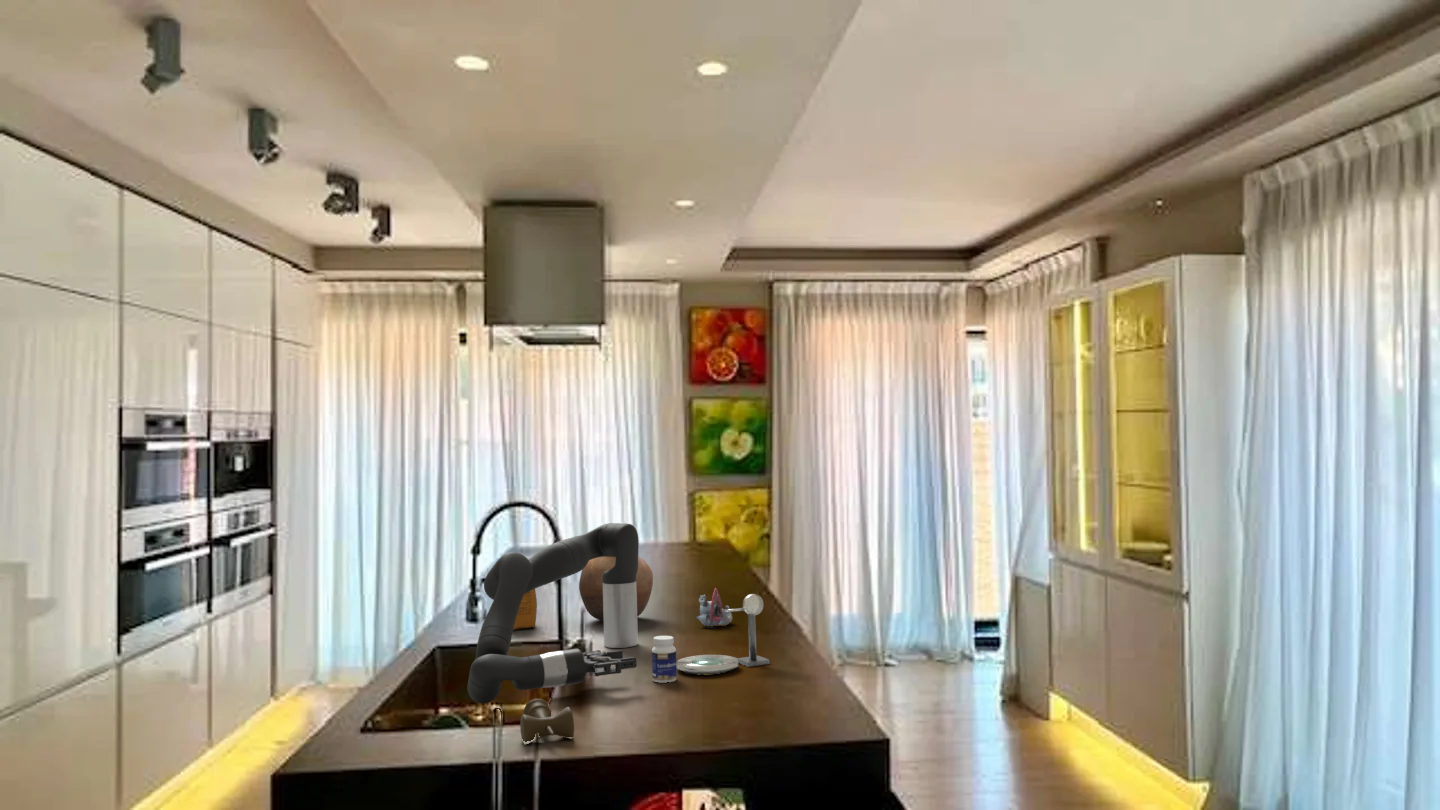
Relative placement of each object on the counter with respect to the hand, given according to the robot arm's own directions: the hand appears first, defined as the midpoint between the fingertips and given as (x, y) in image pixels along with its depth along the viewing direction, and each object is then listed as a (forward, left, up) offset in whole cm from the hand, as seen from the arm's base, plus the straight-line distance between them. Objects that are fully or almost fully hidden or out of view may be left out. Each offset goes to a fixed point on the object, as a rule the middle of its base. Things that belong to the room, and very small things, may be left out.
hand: (629, 658), depth 226 cm
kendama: (+27, -28, -7) cm, 39 cm away
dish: (-5, +22, -6) cm, 23 cm away
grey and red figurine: (-56, +49, -7) cm, 75 cm away
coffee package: (-89, -1, -6) cm, 89 cm away
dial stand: (-5, +32, -6) cm, 33 cm away
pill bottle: (-1, +9, -6) cm, 11 cm away
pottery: (-80, +27, -6) cm, 84 cm away
